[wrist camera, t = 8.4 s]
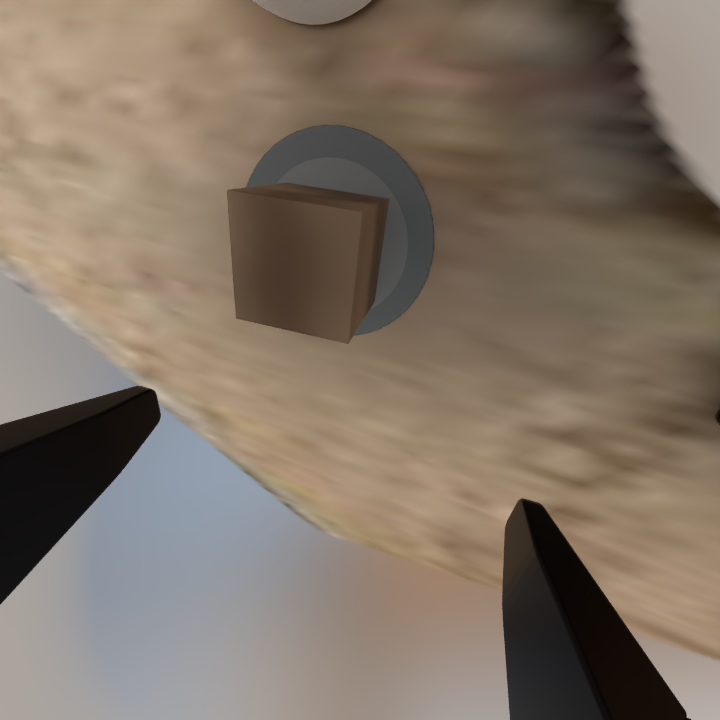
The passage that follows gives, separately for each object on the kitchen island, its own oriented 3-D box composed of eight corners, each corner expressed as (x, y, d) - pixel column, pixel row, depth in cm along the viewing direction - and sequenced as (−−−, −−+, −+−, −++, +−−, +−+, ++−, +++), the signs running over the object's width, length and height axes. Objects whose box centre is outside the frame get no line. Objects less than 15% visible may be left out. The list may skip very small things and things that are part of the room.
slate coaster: (457, 139, 14) (457, 139, 14) (412, 352, 20) (412, 353, 19) (235, 113, 16) (233, 113, 16) (247, 315, 21) (246, 316, 21)
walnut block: (389, 198, 16) (362, 212, 12) (374, 301, 19) (348, 343, 14) (286, 182, 17) (227, 190, 13) (286, 283, 19) (236, 318, 15)
